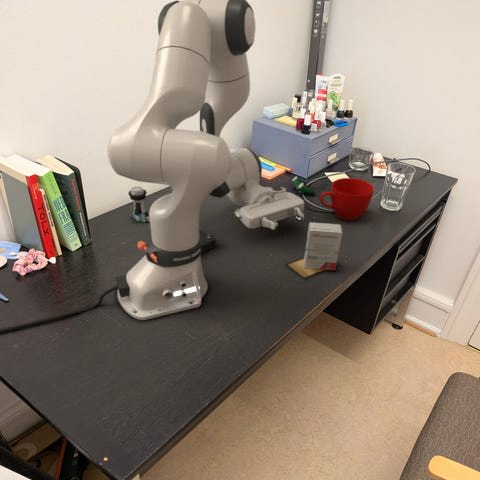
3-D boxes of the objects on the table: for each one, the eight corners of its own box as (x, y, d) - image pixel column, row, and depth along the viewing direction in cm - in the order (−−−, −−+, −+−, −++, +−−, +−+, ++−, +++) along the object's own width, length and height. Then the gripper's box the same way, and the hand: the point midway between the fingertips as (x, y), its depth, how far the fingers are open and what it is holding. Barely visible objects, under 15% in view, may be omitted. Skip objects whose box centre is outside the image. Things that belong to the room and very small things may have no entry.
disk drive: (216, 246, 129) (182, 227, 136) (216, 237, 127) (182, 219, 134) (190, 260, 123) (156, 239, 130) (190, 251, 121) (155, 231, 128)
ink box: (334, 261, 124) (342, 223, 116) (335, 271, 120) (343, 233, 112) (303, 258, 124) (309, 221, 117) (303, 268, 121) (309, 230, 113)
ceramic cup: (309, 209, 147) (313, 180, 141) (355, 204, 151) (362, 176, 145) (325, 228, 138) (330, 198, 132) (374, 222, 142) (381, 193, 135)
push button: (156, 219, 139) (153, 189, 133) (144, 226, 136) (141, 196, 129) (140, 213, 142) (136, 184, 135) (128, 220, 138) (124, 190, 132)
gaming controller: (298, 190, 163) (288, 180, 159) (305, 182, 161) (296, 172, 158) (308, 201, 156) (298, 191, 152) (316, 193, 155) (306, 183, 151)
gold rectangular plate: (304, 278, 118) (304, 277, 118) (287, 265, 122) (288, 264, 122) (337, 264, 123) (337, 263, 123) (320, 253, 127) (320, 252, 127)
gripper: (231, 201, 126) (260, 221, 118) (287, 185, 135) (317, 203, 127) (231, 221, 131) (258, 242, 122) (285, 204, 140) (314, 223, 131)
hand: (289, 222), depth 125 cm, fingers open, 8 cm apart
